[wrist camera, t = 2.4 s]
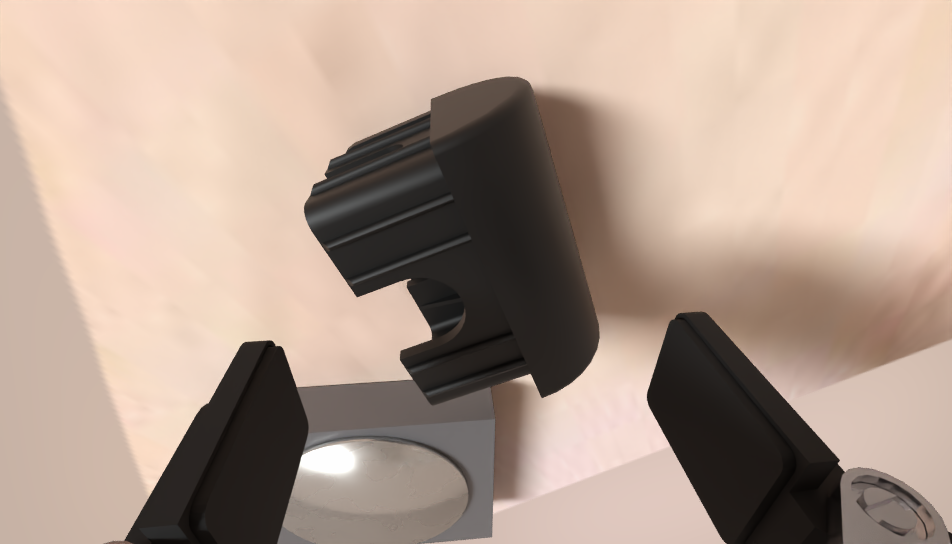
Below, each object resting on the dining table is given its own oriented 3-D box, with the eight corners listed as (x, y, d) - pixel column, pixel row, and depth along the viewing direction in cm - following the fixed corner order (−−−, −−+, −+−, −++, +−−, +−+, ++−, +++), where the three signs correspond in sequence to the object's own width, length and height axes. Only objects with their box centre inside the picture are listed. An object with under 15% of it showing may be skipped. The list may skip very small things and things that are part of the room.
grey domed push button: (488, 375, 24) (496, 425, 21) (487, 492, 30) (492, 543, 27) (233, 392, 23) (204, 447, 20) (288, 509, 29) (272, 564, 26)
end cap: (571, 272, 20) (625, 375, 15) (439, 320, 21) (441, 434, 16) (508, 61, 15) (553, 94, 9) (335, 135, 16) (280, 207, 10)
